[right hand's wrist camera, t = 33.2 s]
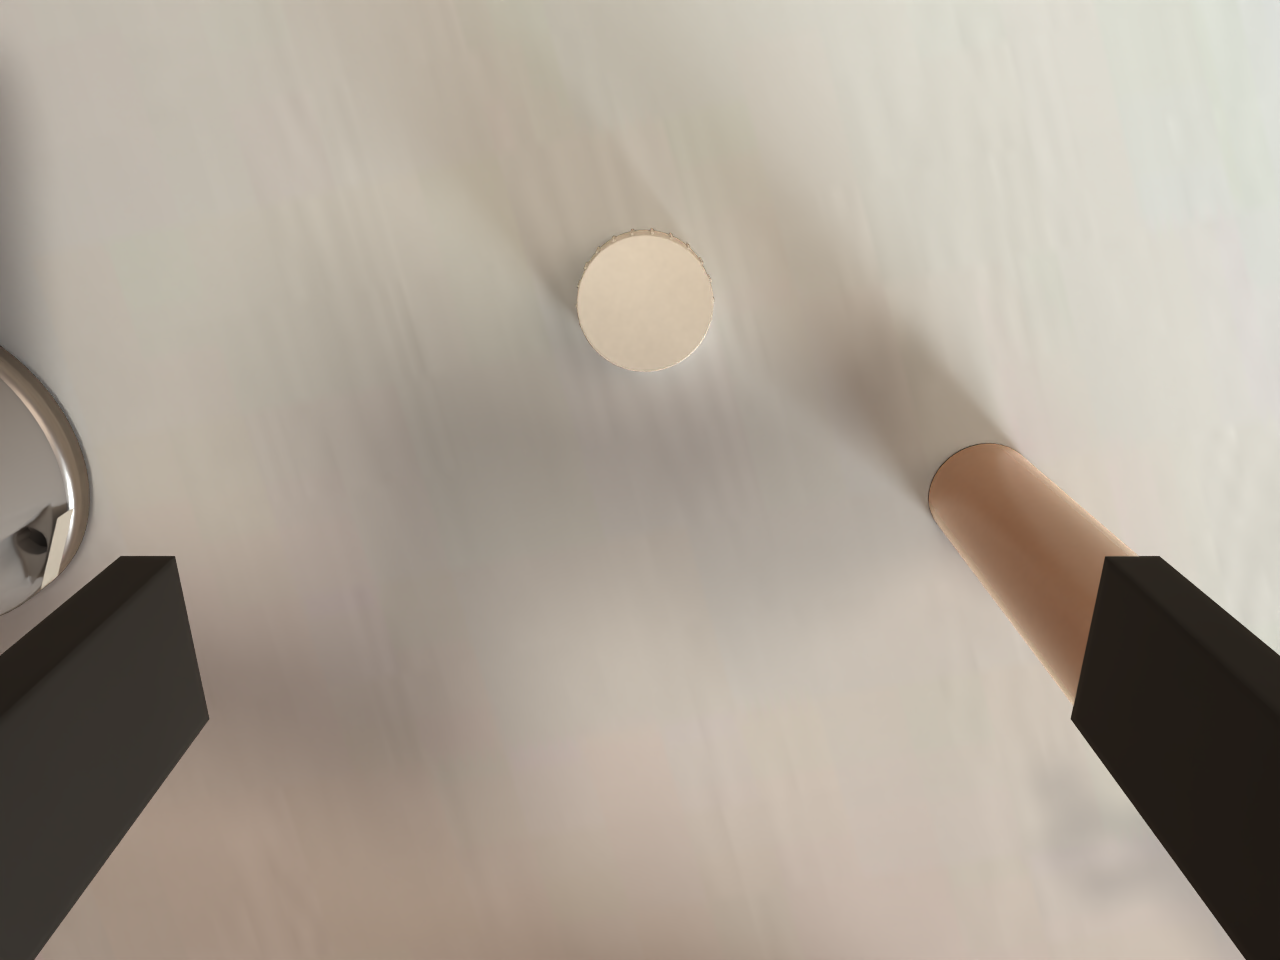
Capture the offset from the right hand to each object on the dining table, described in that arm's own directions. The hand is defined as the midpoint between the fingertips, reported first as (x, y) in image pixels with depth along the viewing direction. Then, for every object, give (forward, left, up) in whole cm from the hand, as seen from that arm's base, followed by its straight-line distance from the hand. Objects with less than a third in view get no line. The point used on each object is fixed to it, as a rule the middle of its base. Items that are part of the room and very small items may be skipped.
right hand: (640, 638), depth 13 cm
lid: (0, 0, -26) cm, 26 cm away
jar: (+14, +12, -28) cm, 34 cm away
